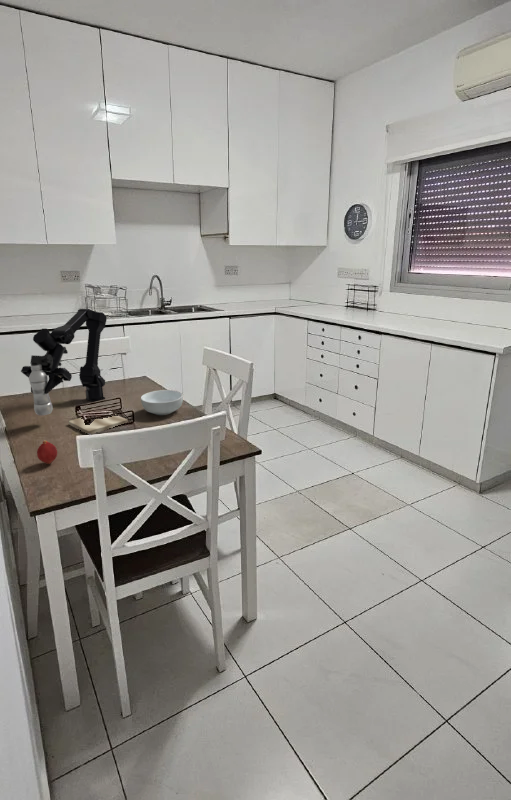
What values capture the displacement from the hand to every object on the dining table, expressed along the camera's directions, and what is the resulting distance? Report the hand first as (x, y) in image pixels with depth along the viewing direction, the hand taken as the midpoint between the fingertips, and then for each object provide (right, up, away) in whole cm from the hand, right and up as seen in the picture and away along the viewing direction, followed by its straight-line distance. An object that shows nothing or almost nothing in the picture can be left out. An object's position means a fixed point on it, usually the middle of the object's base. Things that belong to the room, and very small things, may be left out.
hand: (38, 393), depth 174 cm
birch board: (+21, -12, +5) cm, 24 cm away
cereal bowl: (+43, -8, +17) cm, 47 cm away
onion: (+16, -23, -28) cm, 40 cm away
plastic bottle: (0, -8, +5) cm, 9 cm away
